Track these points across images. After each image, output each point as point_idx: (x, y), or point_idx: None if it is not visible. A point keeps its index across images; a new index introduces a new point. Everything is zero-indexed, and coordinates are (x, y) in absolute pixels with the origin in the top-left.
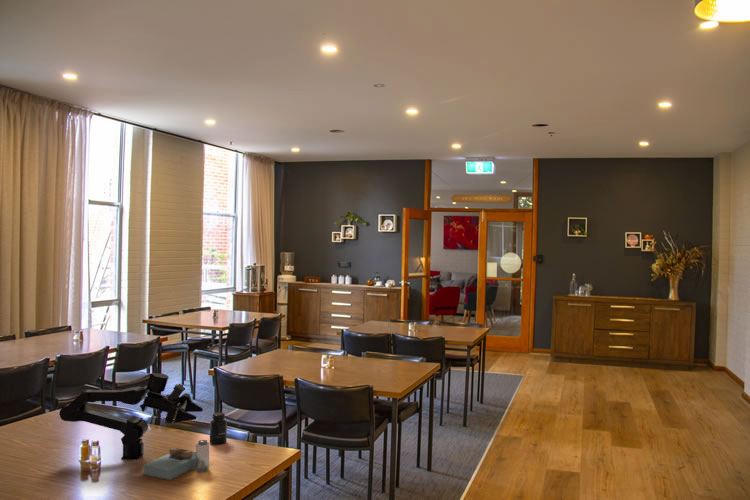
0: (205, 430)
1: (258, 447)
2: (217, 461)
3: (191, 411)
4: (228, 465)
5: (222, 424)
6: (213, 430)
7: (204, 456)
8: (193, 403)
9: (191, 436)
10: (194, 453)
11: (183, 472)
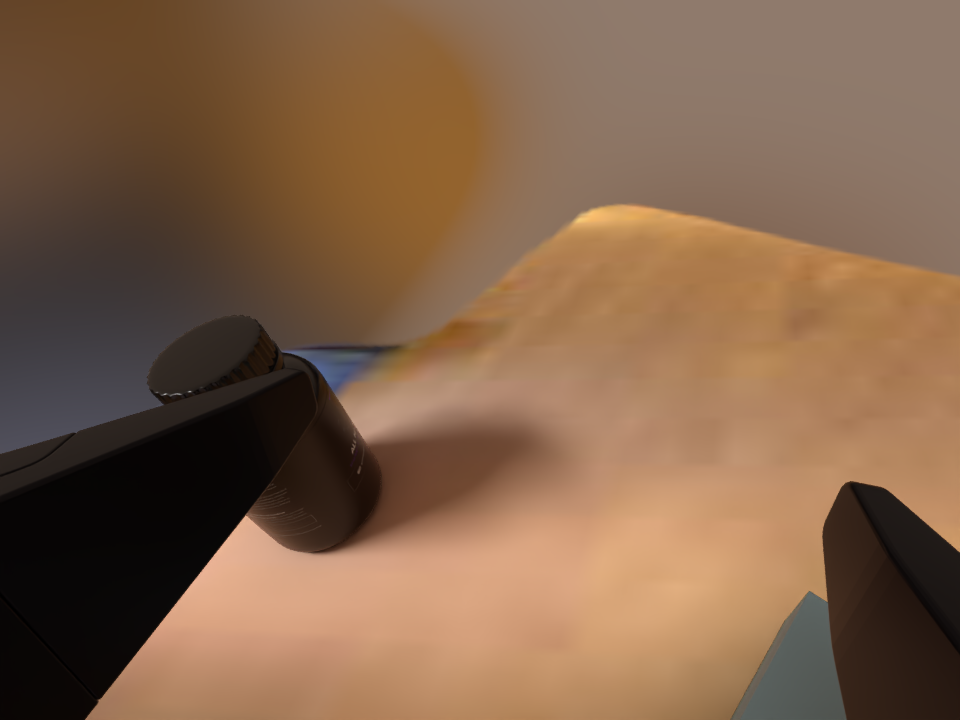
0: None
1: (516, 308)
2: (743, 510)
3: (156, 623)
4: (836, 439)
5: (322, 380)
6: (312, 472)
7: None
8: (12, 479)
9: None
10: (816, 716)
11: None
